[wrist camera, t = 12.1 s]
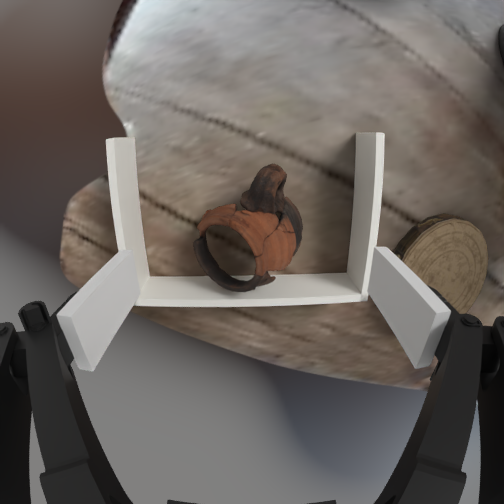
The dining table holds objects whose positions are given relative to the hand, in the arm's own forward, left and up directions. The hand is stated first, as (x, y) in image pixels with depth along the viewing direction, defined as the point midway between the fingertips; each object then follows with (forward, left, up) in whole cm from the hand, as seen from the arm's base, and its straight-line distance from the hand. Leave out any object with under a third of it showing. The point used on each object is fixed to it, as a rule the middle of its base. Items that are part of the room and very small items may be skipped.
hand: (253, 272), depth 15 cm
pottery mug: (0, +1, -15) cm, 15 cm away
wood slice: (-24, +8, -15) cm, 29 cm away
